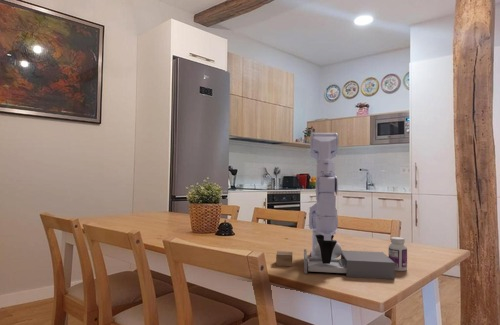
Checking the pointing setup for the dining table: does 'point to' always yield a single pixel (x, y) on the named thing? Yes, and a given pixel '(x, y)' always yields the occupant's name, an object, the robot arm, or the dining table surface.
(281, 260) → the pedestal
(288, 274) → the dining table surface
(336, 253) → the disc
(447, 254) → the dining table surface
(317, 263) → the grey shallow open box
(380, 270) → the block
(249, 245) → the dining table surface
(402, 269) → the pill bottle
